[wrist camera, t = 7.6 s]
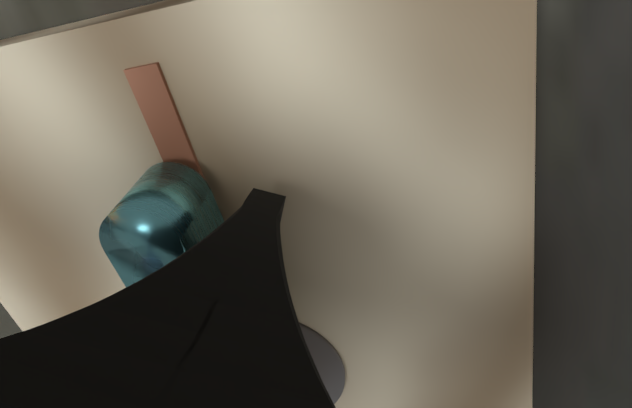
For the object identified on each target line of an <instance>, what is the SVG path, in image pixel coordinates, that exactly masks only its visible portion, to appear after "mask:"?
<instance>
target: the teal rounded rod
mask: <svg viewBox="0 0 632 408" xmlns="http://www.w3.org/2000/svg"><path fill="white" fill-rule="evenodd" d="M223 222H224V219H223V217H222V214H221V212H220V210H219V207H218V205H217V203H216V200H215V198H214V196H213V193H212V191H211V189H210V187H209V185H208V183H207V182H206V180H205V179H204V178H203V177H202V176H201V175H200V174H199V173H198V172H196V171H195V170H193V169H192V168H190V167H188V166H186V165H183V164H180V163H176V162H161V163H157V164H155V165H153V166H151V167H150V168H149V169H147V170H146V172H145V173H144V174H143V175H142V176H141V177H140V178H139V180H138V181H137V182H136V183H135V184H134V185H133V187H132V188H131V189H130V190H129V191H128V192H127V194H126V195H125V196H124V197H123V198H122V199H121V200H120V202H119V203H118V204H117V205H116V206H115V207H114V209H113V210H112V211H111V212H110V213H109V214H108V215H107V217H106V218H105V219H104V220H103V221H102V223H101V225H100V229H99V240H100V243H101V246H102V248H103V250H104V252H105V254H106V255H107V257H108V259H109V260H110V262H111V264H112V265H113V267H114V268H115V270H116V272H117V273H118V275H119V277H120V278H121V280H122V282H123V283H124V285H125V287H128V286H130V285H132V284H134V283H136V282H138V281H139V280H141V279H143V278H145V277H146V276H148V275H150V274H151V273H153V272H155V271H157V270H158V269H160V268H162V267H163V266H165V265H166V264H168V263H169V262H171V261H172V260H174V259H176V258H177V257H179V256H180V255H181V254H183V253H184V252H186V251H187V250H188V249H190V248H191V247H192V246H194V245H195V244H197V243H198V242H199V241H201V240H202V239H204V238H205V237H206V236H207V235H209V234H210V233H211V232H212V231H214V230H215V229H216V228H217V227H218V226H220V225H221V224H222V223H223Z"/></svg>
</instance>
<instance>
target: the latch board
mask: <svg viewBox="0 0 632 408" xmlns="http://www.w3.org/2000/svg"><path fill="white" fill-rule="evenodd" d="M536 28H537V0H165V1H161V2H156V3H152V4H148V5H144V6H140V7H136V8H132V9H127V10H123V11H119V12H115V13H111V14H107V15H102V16H98V17H94V18H90V19H86V20H82V21H78V22H73V23H69V24H65V25H61V26H57V27H53V28H48V29H44V30H40V31H36V32H32V33H28V34H23V35H19V36H15V37H11V38H7V39H3V40H0V302H1V304H2V305H3V306H4V308H5V309H6V310H7V311H8V313H9V314H10V315H11V317H12V318H13V319H14V321H15V322H16V323H17V325H18V326H19V327H20V328H21V330H22V331H26V330H29V329H31V328H34V327H37V326H40V325H43V324H45V323H48V322H50V321H53V320H56V319H58V318H60V317H63V316H65V315H68V314H70V313H72V312H75V311H77V310H80V309H82V308H84V307H87V306H89V305H92V304H94V303H96V302H98V301H100V300H102V299H104V298H106V297H109V296H111V295H113V294H115V293H116V292H118V291H120V290H122V289H124V288H126V287H125V285H124V283H123V282H122V280H121V278H120V277H119V275H118V273H117V272H116V270H115V268H114V267H113V265H112V264H111V262H110V260H109V259H108V257H107V255H106V254H105V252H104V250H103V248H102V246H101V243H100V240H99V229H100V225H101V223H102V221H103V220H104V219H105V218H106V217H107V215H108V214H109V213H110V212H111V211H112V210H113V209H114V207H115V206H116V205H117V204H118V203H119V202H120V200H121V199H122V198H123V197H124V196H125V195H126V194H127V192H128V191H129V190H130V189H131V188H132V187H133V185H134V184H135V183H136V182H137V181H138V180H139V178H140V177H141V176H142V175H143V174H144V173H145V172H146V170H147V169H149V168H150V167H151V166H153V165H155V164H157V163H161V162H176V163H180V164H183V165H186V166H188V167H190V168H192V169H193V170H195V171H196V172H198V173H199V174H200V175H201V176H202V177H203V178H204V179H205V180H206V182H207V183H208V185H209V187H210V189H211V191H212V193H213V196H214V198H215V200H216V203H217V205H218V207H219V210H220V212H221V214H222V217H223V219H224V221H226V220H227V219H228V218H229V217H230V216H231V215H232V214H233V213H235V212H236V211H237V210H238V209H239V208H240V207H241V206H242V205H243V203H244V201H245V200H246V198H247V196H248V195H249V193H250V192H251V191H252V189H253V188H256V189H260V190H263V191H267V192H271V193H275V194H279V195H283V196H286V199H285V204H284V208H283V213H282V218H281V222H280V234H281V245H282V253H283V261H284V267H285V272H286V277H287V282H288V286H289V290H290V295H291V298H292V302H293V306H294V309H295V312H296V315H297V319H298V322H299V325H300V328H301V330H302V333H303V336H304V339H305V342H306V344H307V347H308V349H309V351H310V354H311V356H312V358H313V361H314V363H315V365H316V368H317V370H318V372H319V375H320V377H321V379H322V382H323V384H324V385H325V387H326V389H327V391H328V393H329V395H330V397H331V399H332V401H333V403H334V405H335V407H336V408H532V387H533V298H534V208H535V118H536Z"/></svg>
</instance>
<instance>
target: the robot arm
mask: <svg viewBox="0 0 632 408" xmlns="http://www.w3.org/2000/svg"><path fill="white" fill-rule="evenodd" d="M285 199H286V196H283V195H279V194H275V193H271V192H267V191H263V190H260V189H256V188H253V189H252V191H251V192H250V193H249V195H248V196H247V198H246V200H245V201H244V203H243V205H242V206H241V207H240V208H239V209H238V210H237V211H236V212H235V213H233V214H232V215H231V216H230V217H229V218H228V219H227V220H226V221H224V222H223V223H222V224H221V225H220V226H218V227H217V228H216V229H215V230H214V231H212V232H211V233H210V234H209V235H207V236H206V237H205V238H204V239H202V240H201V241H199V242H198V243H197V244H195V245H194V246H192V247H191V248H190V249H188V250H187V251H186V252H184V253H183V254H181V255H180V256H179V257H177V258H176V259H174V260H172V261H171V262H169V263H168V264H166V265H165V266H163V267H162V268H160V269H158V270H157V271H155V272H153V273H151V274H150V275H148V276H146V277H145V278H143V279H141V280H139V281H138V282H136V283H134V284H132V285H130V286H128V287H126V288H124V289H122V290H120V291H118V292H116V293H115V294H113V295H111V296H109V297H106V298H104V299H102V300H100V301H98V302H96V303H94V304H92V305H89V306H87V307H84V308H82V309H80V310H77V311H75V312H72V313H70V314H68V315H65V316H63V317H60V318H58V319H56V320H53V321H50V322H48V323H45V324H43V325H40V326H37V327H34V328H31V329H29V330H26V331H23V332H20V333H17V334H14V335H10V336H7V337H4V338H1V339H0V408H336V407H335V405H334V403H333V401H332V399H331V397H330V395H329V393H328V391H327V389H326V387H325V385H324V384H323V382H322V379H321V377H320V375H319V372H318V370H317V368H316V365H315V363H314V361H313V358H312V356H311V354H310V351H309V349H308V347H307V344H306V342H305V339H304V336H303V333H302V330H301V328H300V325H299V322H298V319H297V315H296V312H295V309H294V306H293V302H292V298H291V295H290V290H289V286H288V282H287V277H286V272H285V267H284V261H283V253H282V245H281V234H280V222H281V218H282V213H283V208H284V204H285Z"/></svg>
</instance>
